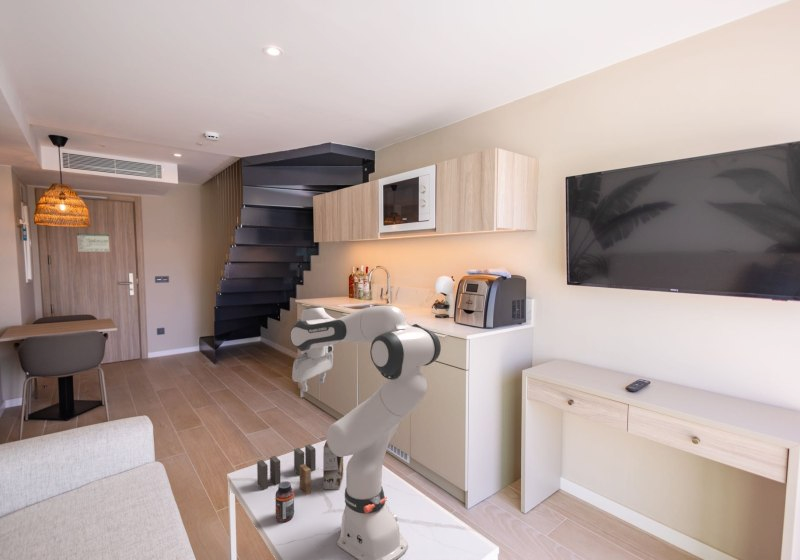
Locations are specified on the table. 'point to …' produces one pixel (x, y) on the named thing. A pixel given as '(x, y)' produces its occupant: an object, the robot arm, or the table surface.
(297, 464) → the domino
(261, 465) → the domino
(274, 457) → the domino
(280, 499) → the supplement bottle
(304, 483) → the domino
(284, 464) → the table surface
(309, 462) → the domino
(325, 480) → the coffee box
